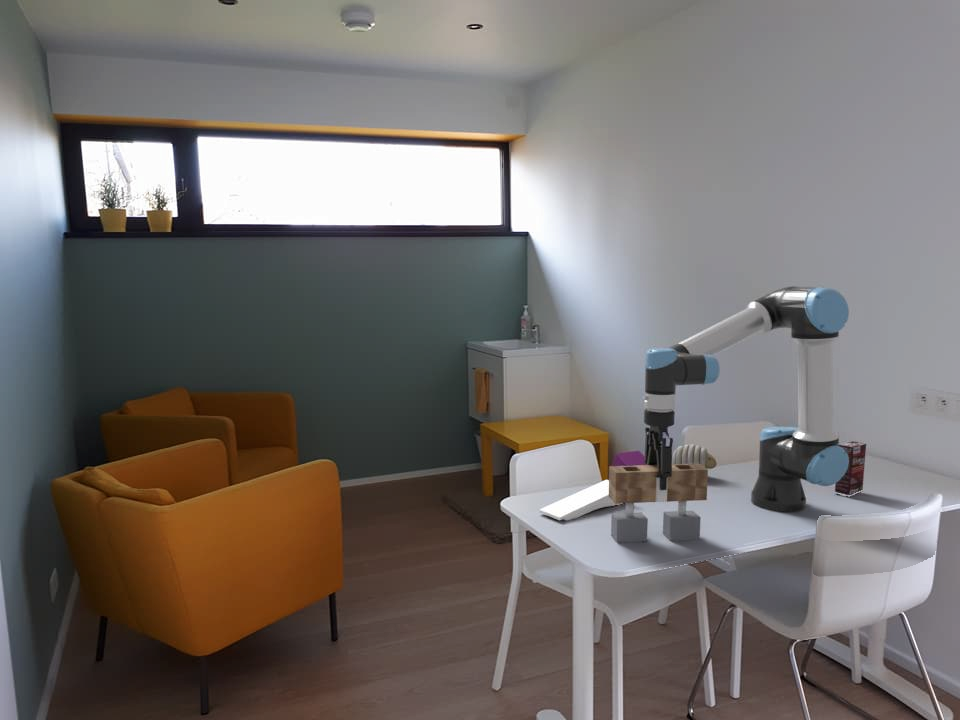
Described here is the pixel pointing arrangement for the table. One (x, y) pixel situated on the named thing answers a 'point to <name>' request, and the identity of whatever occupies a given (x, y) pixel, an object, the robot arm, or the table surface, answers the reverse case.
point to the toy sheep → (693, 456)
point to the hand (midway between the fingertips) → (656, 497)
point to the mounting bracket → (629, 459)
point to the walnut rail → (641, 483)
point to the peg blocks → (674, 525)
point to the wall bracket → (580, 502)
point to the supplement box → (852, 469)
